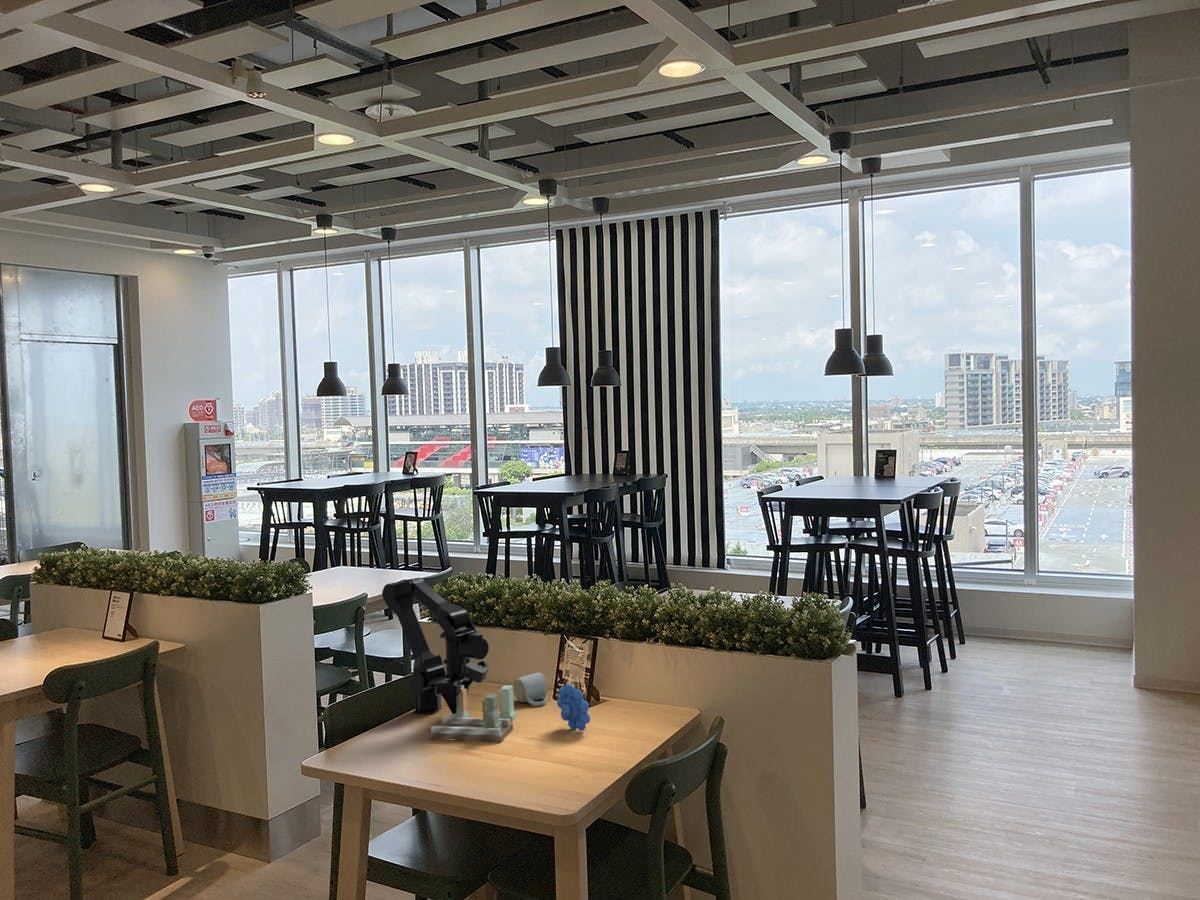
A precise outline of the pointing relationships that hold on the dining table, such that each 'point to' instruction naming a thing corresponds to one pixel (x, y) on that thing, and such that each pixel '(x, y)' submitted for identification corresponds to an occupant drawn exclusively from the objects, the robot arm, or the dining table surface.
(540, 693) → the ceramic mug
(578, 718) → the grapes
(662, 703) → the dining table surface
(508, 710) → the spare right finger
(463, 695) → the stepped sage green block
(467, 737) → the rail board
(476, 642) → the robot arm
